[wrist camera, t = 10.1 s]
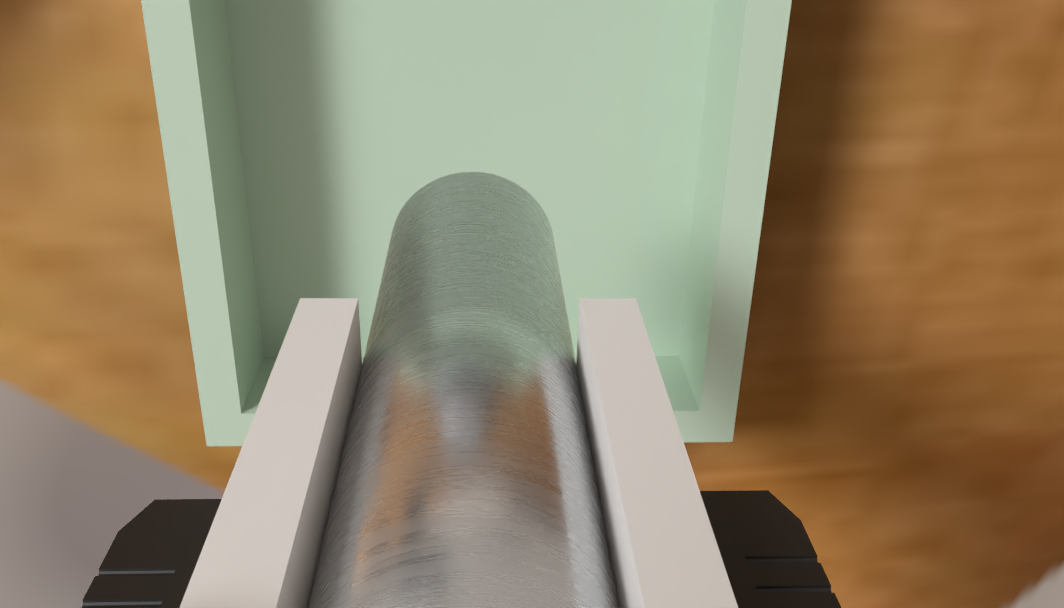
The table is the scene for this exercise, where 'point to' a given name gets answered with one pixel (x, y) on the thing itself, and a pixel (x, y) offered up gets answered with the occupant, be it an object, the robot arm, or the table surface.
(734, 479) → the table surface
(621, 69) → the tray
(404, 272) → the dark capped cylinder
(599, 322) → the robot arm
